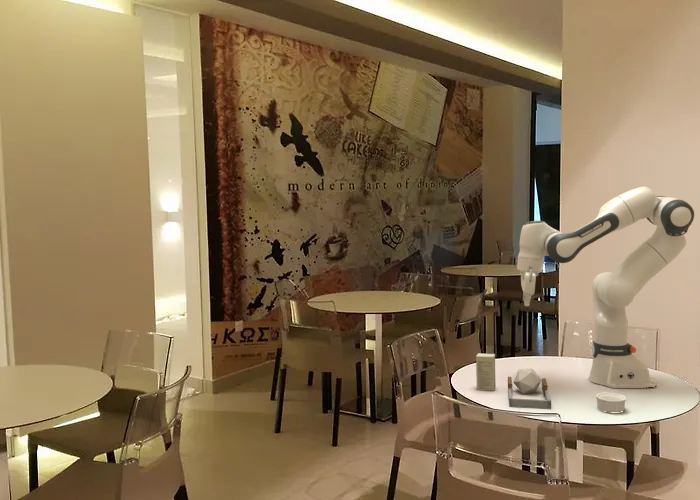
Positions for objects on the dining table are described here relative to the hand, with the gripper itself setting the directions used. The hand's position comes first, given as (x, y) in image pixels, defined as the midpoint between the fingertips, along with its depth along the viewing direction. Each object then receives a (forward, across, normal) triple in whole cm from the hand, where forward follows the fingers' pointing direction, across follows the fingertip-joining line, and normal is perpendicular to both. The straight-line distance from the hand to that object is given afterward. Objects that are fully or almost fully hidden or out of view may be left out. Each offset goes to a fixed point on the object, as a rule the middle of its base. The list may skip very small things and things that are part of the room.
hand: (526, 303), depth 241 cm
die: (+29, -13, -2) cm, 32 cm away
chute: (+28, -14, -2) cm, 32 cm away
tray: (+28, -24, -2) cm, 37 cm away
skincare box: (+30, -12, +12) cm, 34 cm away
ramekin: (+27, -27, -28) cm, 47 cm away
